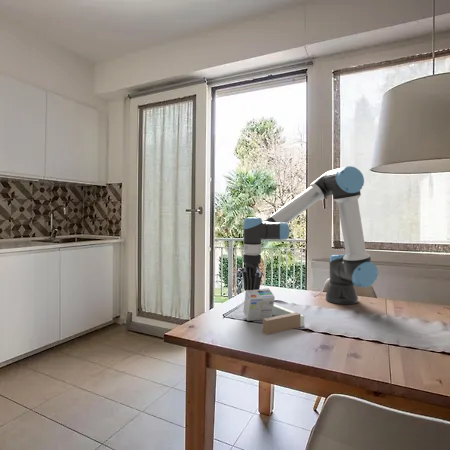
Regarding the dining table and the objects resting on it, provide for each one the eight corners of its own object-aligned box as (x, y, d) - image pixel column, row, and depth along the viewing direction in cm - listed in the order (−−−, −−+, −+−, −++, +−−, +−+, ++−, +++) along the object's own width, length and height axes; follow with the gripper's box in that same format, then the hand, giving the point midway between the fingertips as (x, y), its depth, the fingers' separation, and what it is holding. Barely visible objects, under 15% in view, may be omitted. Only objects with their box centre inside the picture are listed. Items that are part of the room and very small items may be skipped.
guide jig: (266, 309, 148) (266, 298, 148) (304, 325, 127) (304, 313, 127) (232, 316, 139) (232, 304, 139) (266, 334, 118) (267, 320, 118)
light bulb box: (265, 309, 141) (269, 287, 137) (271, 319, 135) (275, 296, 131) (242, 311, 138) (245, 289, 134) (247, 321, 132) (250, 298, 128)
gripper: (236, 252, 143) (235, 306, 144) (253, 256, 132) (252, 314, 133) (251, 251, 147) (250, 303, 148) (268, 255, 135) (267, 311, 136)
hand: (251, 308), depth 140 cm, fingers closed
